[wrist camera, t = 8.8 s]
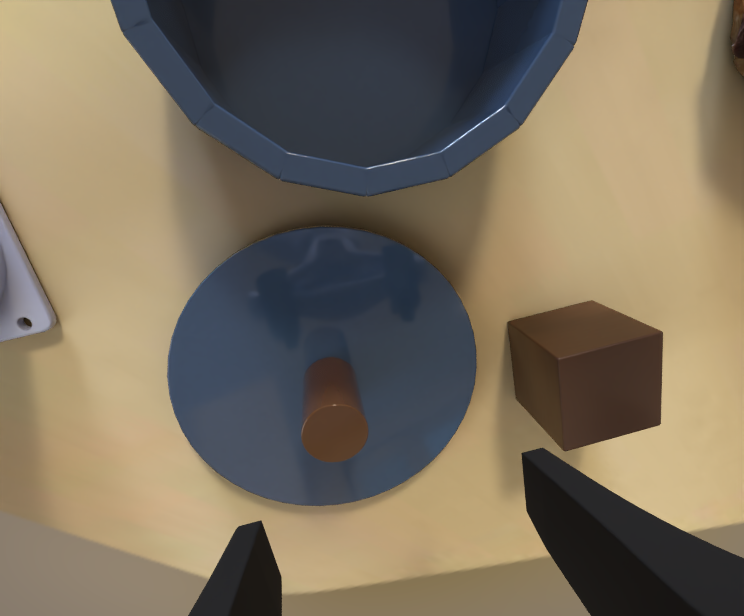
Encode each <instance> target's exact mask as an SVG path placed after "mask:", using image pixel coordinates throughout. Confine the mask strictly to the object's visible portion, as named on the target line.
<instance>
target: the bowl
mask: <svg viewBox="0 0 744 616" xmlns="http://www.w3.org/2000/svg"><path fill="white" fill-rule="evenodd" d="M587 2H588V0H111V3H112V6H113V9H114V11H115V14H116V17H117V20H118V23H119V26H120V29H121V31H122V32H123V35H124V36H125V37H126V39H127V40H128V41H129V43H130V44H131V45H132V46H133V48H134V49H135V50H136V52H137V53H138V54H139V55H140V57H141V58H142V59H143V61H144V62H145V63H146V65H147V66H148V67H149V68H150V70H151V71H152V72H153V74H154V75H155V76H156V77H157V79H158V80H159V81H160V83H161V84H162V85H163V87H164V88H165V89H166V90H167V92H168V93H169V94H170V96H171V97H172V98H173V100H174V101H175V102H176V103H177V105H178V106H179V107H180V109H181V110H182V111H183V112H184V114H185V115H186V116H187V118H188V119H189V120H190V122H191V123H192V124H193V125H195V126H196V127H197V128H198V129H199V130H201V131H203V132H204V133H206V134H207V135H209V136H210V137H212V138H214V139H215V140H217V141H218V142H220V143H221V144H223V145H224V146H226V147H228V148H229V149H231V150H232V151H234V152H235V153H237V154H239V155H240V156H242V157H243V158H245V159H246V160H248V161H250V162H251V163H253V164H254V165H256V166H257V167H259V168H260V169H262V170H264V171H265V172H267V173H268V174H270V175H271V176H273V177H275V178H276V179H280V180H281V181H284V182H290V183H295V184H300V185H306V186H311V187H316V188H322V189H327V190H332V191H338V192H343V193H348V194H353V195H359V196H373V195H378V194H382V193H387V192H391V191H395V190H400V189H404V188H409V187H413V186H418V185H422V184H426V183H431V182H435V181H440V180H444V179H447V178H449V177H452V176H453V175H455V174H456V173H457V172H459V171H460V170H462V169H463V168H464V167H466V166H467V165H469V164H470V163H471V162H473V161H474V160H476V159H477V158H478V157H480V156H481V155H483V154H484V153H485V152H487V151H488V150H490V149H491V148H492V147H494V146H495V145H497V144H498V143H499V142H501V141H502V140H504V139H505V138H506V137H508V136H509V135H511V134H512V133H513V132H515V131H516V130H518V129H519V127H520V126H521V125H522V124H523V123H524V121H525V120H526V118H527V117H528V115H529V114H530V112H531V111H532V109H533V108H534V106H535V105H536V104H537V102H538V101H539V99H540V98H541V96H542V95H543V93H544V92H545V90H546V89H547V87H548V86H549V84H550V83H551V81H552V80H553V78H554V77H555V75H556V74H557V72H558V71H559V69H560V68H561V66H562V65H563V63H564V62H565V60H566V59H567V57H568V56H569V55H570V53H571V52H572V50H573V48H574V45H575V43H576V41H577V37H578V34H579V30H580V27H581V23H582V20H583V16H584V13H585V9H586V6H587Z"/></svg>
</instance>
